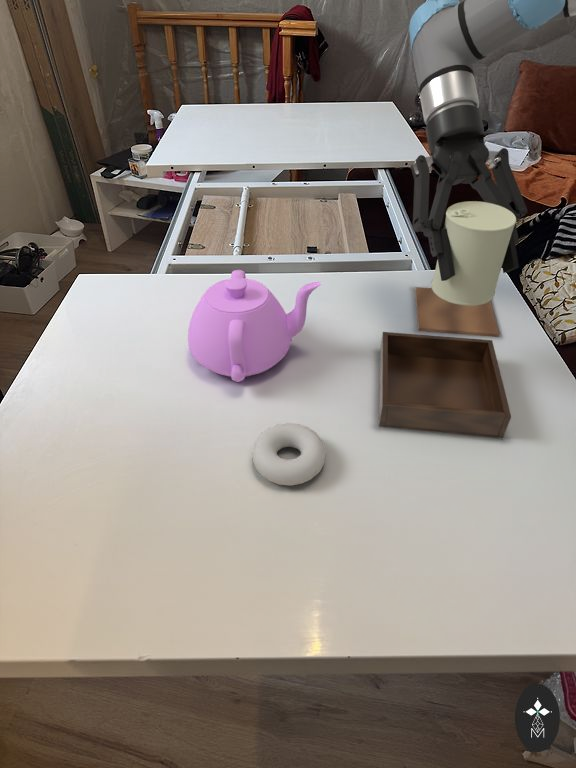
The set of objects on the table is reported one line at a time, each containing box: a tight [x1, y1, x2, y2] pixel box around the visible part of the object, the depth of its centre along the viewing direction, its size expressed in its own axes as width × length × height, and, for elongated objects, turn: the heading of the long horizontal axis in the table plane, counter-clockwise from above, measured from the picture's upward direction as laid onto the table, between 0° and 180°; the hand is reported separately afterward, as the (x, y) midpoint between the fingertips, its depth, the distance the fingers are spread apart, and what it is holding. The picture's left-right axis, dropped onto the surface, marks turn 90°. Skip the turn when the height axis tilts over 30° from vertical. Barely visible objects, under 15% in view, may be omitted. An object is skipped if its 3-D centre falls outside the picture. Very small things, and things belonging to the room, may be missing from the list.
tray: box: [378, 331, 512, 439], centre depth 82 cm, size 18×18×4 cm
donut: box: [251, 422, 327, 486], centre depth 72 cm, size 10×3×10 cm
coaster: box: [414, 286, 500, 338], centre depth 100 cm, size 14×14×1 cm
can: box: [430, 200, 517, 306], centre depth 75 cm, size 9×9×12 cm
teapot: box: [187, 269, 322, 383], centre depth 86 cm, size 22×22×14 cm
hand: (480, 273), depth 74 cm, fingers closed on can, 9 cm apart
